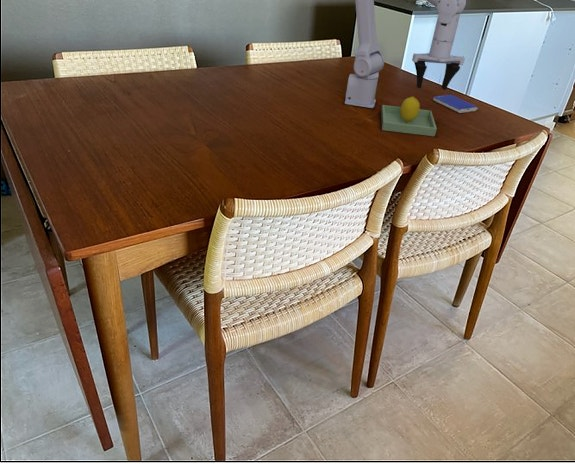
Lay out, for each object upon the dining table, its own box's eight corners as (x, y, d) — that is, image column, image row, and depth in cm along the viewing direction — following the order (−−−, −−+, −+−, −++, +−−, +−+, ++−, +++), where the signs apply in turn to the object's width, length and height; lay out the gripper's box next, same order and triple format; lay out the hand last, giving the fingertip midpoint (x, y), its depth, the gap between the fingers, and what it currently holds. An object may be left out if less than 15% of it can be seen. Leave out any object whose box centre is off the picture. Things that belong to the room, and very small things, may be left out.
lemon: (417, 121, 143) (424, 95, 138) (413, 127, 138) (420, 100, 134) (400, 117, 144) (405, 92, 140) (395, 123, 140) (401, 97, 135)
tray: (381, 130, 136) (383, 122, 135) (381, 112, 148) (382, 104, 147) (434, 136, 135) (436, 128, 133) (429, 117, 147) (431, 110, 146)
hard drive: (433, 96, 161) (460, 108, 152) (451, 94, 164) (478, 106, 155) (432, 100, 161) (458, 113, 153) (450, 98, 165) (476, 110, 156)
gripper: (421, 41, 127) (410, 90, 135) (473, 44, 128) (459, 93, 136) (414, 35, 133) (404, 83, 141) (464, 38, 134) (451, 86, 142)
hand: (431, 87), depth 139 cm, fingers open, 7 cm apart
